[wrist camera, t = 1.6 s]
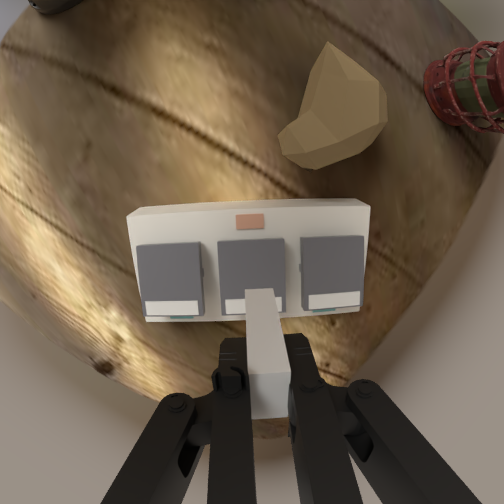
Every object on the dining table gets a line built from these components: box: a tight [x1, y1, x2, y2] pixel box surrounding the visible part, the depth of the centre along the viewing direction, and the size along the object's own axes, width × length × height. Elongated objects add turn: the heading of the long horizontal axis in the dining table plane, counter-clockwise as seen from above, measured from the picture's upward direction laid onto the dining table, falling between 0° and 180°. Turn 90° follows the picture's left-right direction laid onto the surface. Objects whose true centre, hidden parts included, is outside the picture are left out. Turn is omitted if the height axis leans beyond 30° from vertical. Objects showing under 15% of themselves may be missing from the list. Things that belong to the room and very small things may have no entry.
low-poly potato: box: [278, 41, 388, 172], centre depth 29 cm, size 15×11×12 cm
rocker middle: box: [217, 238, 286, 316], centre depth 32 cm, size 8×7×2 cm
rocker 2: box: [300, 235, 364, 311], centre depth 32 cm, size 8×7×2 cm
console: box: [127, 198, 370, 322], centre depth 36 cm, size 14×28×6 cm, turn 92°
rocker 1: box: [136, 241, 205, 317], centre depth 32 cm, size 8×7×2 cm
